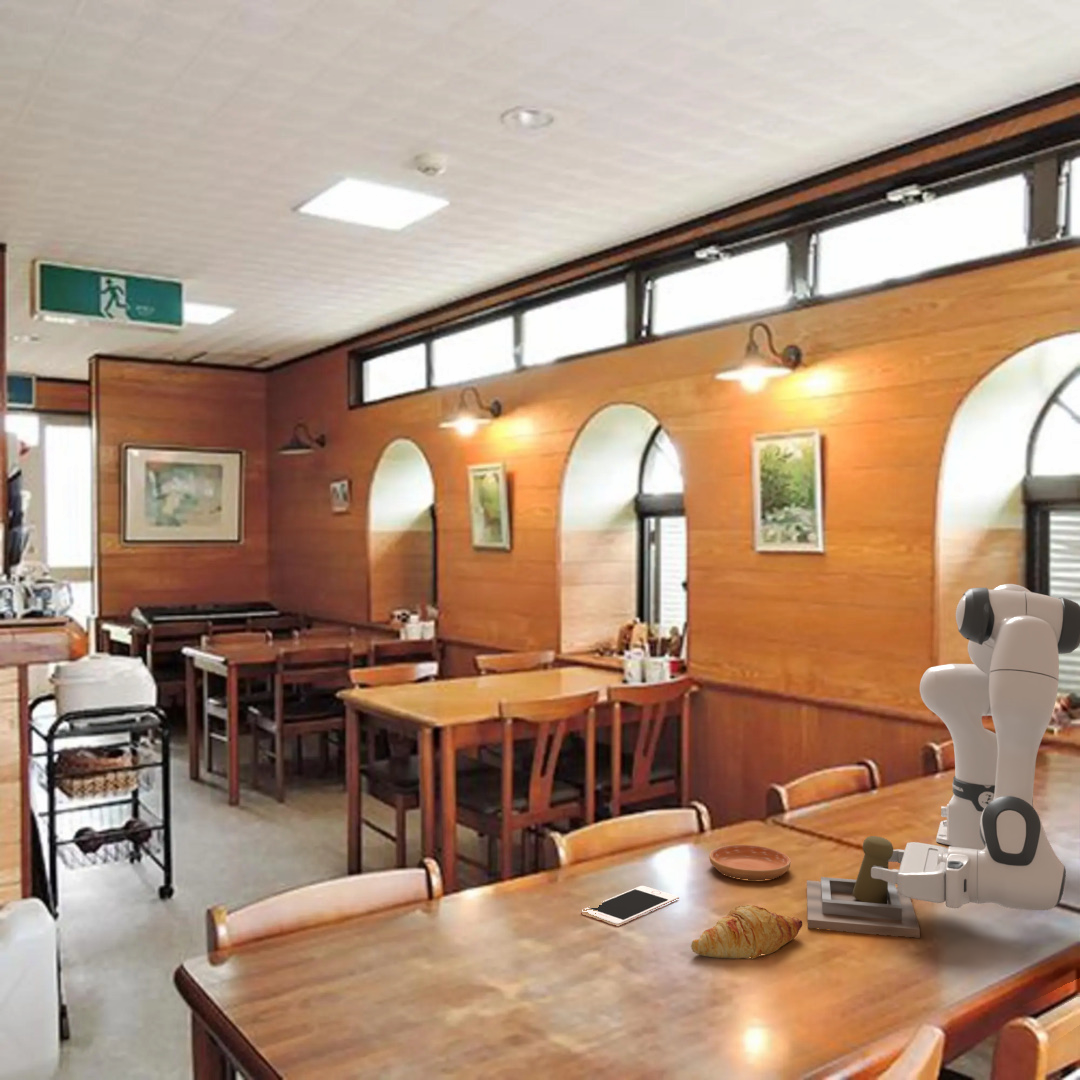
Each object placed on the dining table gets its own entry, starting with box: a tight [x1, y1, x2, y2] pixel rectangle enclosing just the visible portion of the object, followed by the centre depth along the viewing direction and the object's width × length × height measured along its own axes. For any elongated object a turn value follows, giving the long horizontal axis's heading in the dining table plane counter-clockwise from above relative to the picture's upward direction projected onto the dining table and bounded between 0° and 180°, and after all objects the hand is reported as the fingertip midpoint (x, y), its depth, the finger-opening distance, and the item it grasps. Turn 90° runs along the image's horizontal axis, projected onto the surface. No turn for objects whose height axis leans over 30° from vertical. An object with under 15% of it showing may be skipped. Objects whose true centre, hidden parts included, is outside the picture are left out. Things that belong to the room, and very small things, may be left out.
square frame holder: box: [806, 876, 921, 939], centre depth 180 cm, size 20×18×4 cm
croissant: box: [690, 904, 803, 959], centre depth 165 cm, size 21×10×8 cm, turn 115°
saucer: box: [708, 844, 792, 880], centre depth 202 cm, size 16×16×3 cm
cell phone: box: [581, 885, 680, 924], centre depth 183 cm, size 9×18×1 cm, turn 136°
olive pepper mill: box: [853, 835, 894, 904], centre depth 181 cm, size 6×6×11 cm
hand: (874, 863), depth 179 cm, fingers open, 8 cm apart
